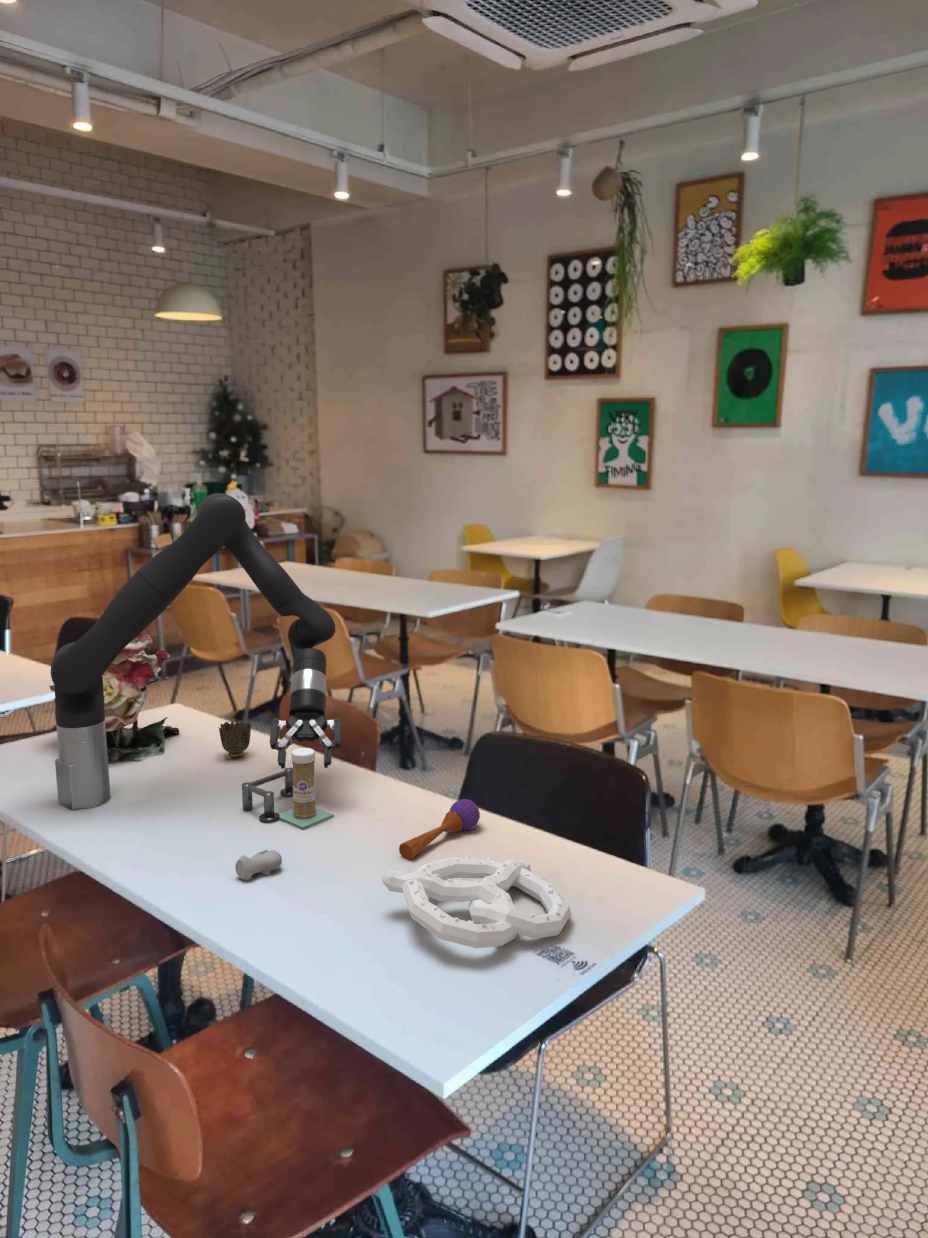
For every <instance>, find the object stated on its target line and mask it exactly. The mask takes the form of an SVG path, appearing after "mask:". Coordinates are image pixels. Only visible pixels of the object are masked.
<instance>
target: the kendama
mask: <svg viewBox="0 0 928 1238" xmlns="http://www.w3.org/2000/svg"><path fill="white" fill-rule="evenodd" d="M480 817H481V813H480V810H479V807H478V805H477V804H476V803H475V802H474V801H472V800H471V799H468V798H462V799H461V798H460V799H458V800H456V801H454V803H453V804H451V807H449V811H448V812H447V813H446V814H445V816H444V818H443V820H442V822H441V825H440V826H438V827H436V828H433V829H432V830H429V831H427V832H424V833H422V834H420V835H418V836H415V837H413V838H410V839H409V840H406V841H404V842H402V843H400V845H399V847H398V852H399V854H400V856H401V857H402V858H403V859H406V860H408V861H411V860H413V859H414V858H415V857H416V856H417V855H418V854H419V853H420V852H422V851H423V850H424V849H425V848H426V847H427V846H429V845H430V844H431V843H432V842H433V841H434V840H436V838H438V837H439V836H440V835H441V834H442V833H444V832H445V833H447V832H448V833H450V832H451V833H457V832H461V831H462V832H463V831H470V830H472V829H473V828H475V827H476V826H477V825H478V823H479V821H480Z"/></svg>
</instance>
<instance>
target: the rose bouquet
mask: <svg viewBox="0 0 928 1238" xmlns="http://www.w3.org/2000/svg"><path fill="white" fill-rule="evenodd" d="M152 645H153V639H152V637H151V636H150V634H149V635H148V634H144V633H140V634H139V635H138V636H137V637H136V638H135V639H133V640H132V641H131V642H130V643H129V644H128V645H127V646H126V647H125V648H124V649H123V650H122V651H121V652H120V653H119V654H118V656H117V657H116V658H115V659H114V661H113V662H112V663H111V664H110V666H109V667H108V668H107V670H106V671H105V672H104V674H103V691H104V709H105V725H106V740H107V753H108V765H110V764H115V763H123V762H134V763H135V762H141V761H142V760H141V759H139V758H152V757H156V756H161V755H164V753H165V746H166V744H165V734H171V733H172V734H173V733H175V734H180V729H179V728H178V727H173V726H170V725H166V726H164V725H165V721H167V719H168V718H169V717H168V716H165V717H164V718H163V719H161V720H159V721H156V722H153V723H150V724H148V725H146V726H143V727H139V726H138V724H139V722H138V719H139V714H140V712H141V710H142V708H143V706H144V705H145V701H146V699H147V696H148V689H147V686H149V685H151V684H154V683H160V682H162V681H163V680H164V681H165V680H168V681H169V680H170V678H169V677H168V676H164V675H163V676H162V675H159V674H160V673H161V672H162V671H161V670H163V668H162V667H161V665H163V663H164V662H165V661H167V660H168V659H169V658H170V657H171V655H170V654H169V652H167V651H166V650H165V649H164V648H156V649H154V650H151V646H152ZM48 686H49V687H48V688H49V690H50V691H52V692H54V693H55V688H54V683H53V684H51V685H48ZM53 702H54V704H55V698H53ZM131 724H132V726H131V727H130V728H128V727H126V726H129V725H131Z"/></svg>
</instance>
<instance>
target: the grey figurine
mask: <svg viewBox="0 0 928 1238" xmlns="http://www.w3.org/2000/svg"><path fill="white" fill-rule="evenodd" d="M282 862H283V857H282V855H281V854H280V852H279V851H277V850H272V849H271V850H268V849H265V850H262V851H259V852H256V853H255V854H253V855H252V856H251V857H248V856H246V855H242V856H240V857H239V859H238V860H237V861H236V862H235V866H234V867H235V873H236V875H237V876H238V878H239V879H240V880H243V881H249V880H251V878H252V876H253V875H255V874H258V873H262V874H263V875H269V874H271V872H272V871H275V870H277V869H278V868H280V866H281V865H282Z"/></svg>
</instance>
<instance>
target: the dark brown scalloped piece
mask: <svg viewBox="0 0 928 1238" xmlns="http://www.w3.org/2000/svg"><path fill="white" fill-rule="evenodd" d="M218 730H219V736H220V742H221V745H222V748H223V750H225V752H227V753H228V757H229V758H230V759H231V760H238V759H241V758H243V757H244V755H245V752H244V751H246V750H248V748H249V746H250V741H251V732H252V731H251V730H252V723H251V722H249V723H248V721H246V722H245V723H244V721H243V720H240V721H239V720H237V721H236V722H234V721H233V720H232V721H231V722H228V721H226V722H224V723H220V727H219V726H218Z"/></svg>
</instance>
